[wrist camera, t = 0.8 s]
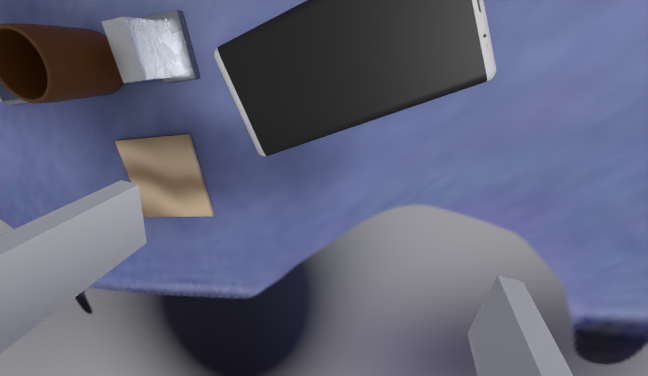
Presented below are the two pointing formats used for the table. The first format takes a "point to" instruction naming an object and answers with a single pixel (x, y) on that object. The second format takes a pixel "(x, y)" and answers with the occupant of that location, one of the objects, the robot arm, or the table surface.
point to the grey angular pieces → (145, 50)
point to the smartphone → (351, 64)
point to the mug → (56, 63)
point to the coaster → (166, 176)
